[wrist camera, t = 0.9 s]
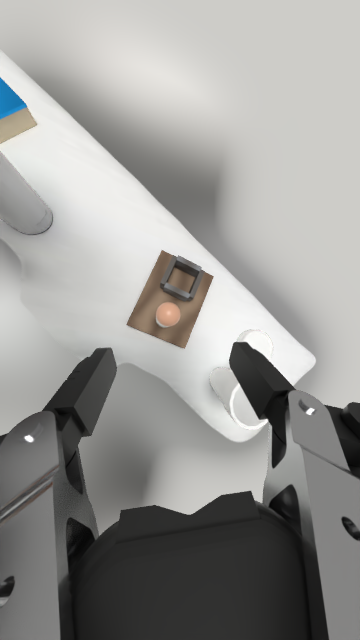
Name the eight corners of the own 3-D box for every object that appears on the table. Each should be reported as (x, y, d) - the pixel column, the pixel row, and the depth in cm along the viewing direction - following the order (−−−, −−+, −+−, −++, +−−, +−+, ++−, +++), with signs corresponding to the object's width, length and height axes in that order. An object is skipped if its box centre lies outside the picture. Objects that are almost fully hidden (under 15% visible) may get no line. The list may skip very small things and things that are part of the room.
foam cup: (201, 365, 37) (226, 382, 25) (231, 358, 39) (269, 372, 26) (207, 399, 37) (234, 436, 24) (237, 391, 39) (277, 422, 26)
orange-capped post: (152, 323, 34) (151, 319, 22) (159, 308, 35) (162, 295, 22) (168, 330, 35) (176, 330, 22) (175, 315, 36) (186, 306, 23)
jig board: (127, 324, 34) (122, 324, 29) (161, 252, 38) (162, 240, 32) (183, 348, 37) (188, 351, 32) (211, 278, 40) (220, 270, 35)
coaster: (270, 346, 42) (280, 348, 39) (250, 370, 40) (259, 374, 37) (250, 323, 41) (258, 322, 38) (228, 345, 39) (235, 347, 36)
